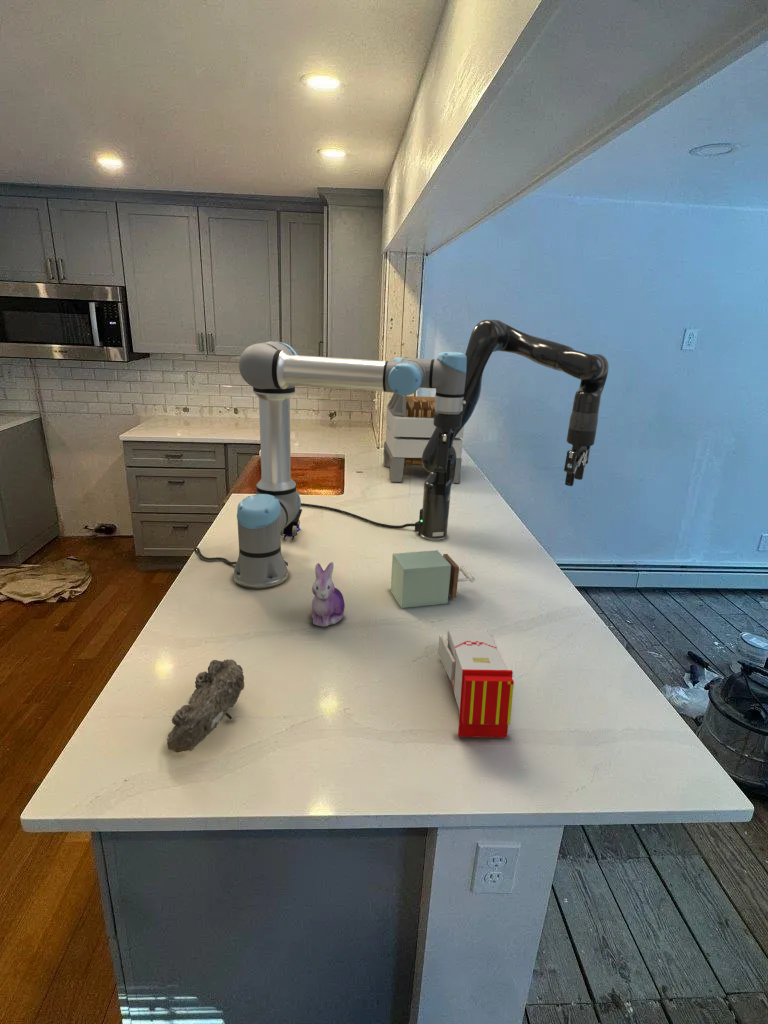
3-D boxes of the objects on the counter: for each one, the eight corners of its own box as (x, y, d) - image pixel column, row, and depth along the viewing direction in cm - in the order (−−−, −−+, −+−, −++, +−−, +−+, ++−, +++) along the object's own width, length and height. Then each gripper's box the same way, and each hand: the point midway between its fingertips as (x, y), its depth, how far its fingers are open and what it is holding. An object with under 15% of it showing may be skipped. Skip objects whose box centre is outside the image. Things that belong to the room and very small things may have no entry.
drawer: (462, 581, 164) (464, 552, 161) (474, 596, 156) (478, 565, 153) (405, 587, 160) (407, 556, 157) (415, 602, 152) (417, 570, 149)
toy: (488, 613, 130) (523, 677, 101) (484, 667, 133) (517, 744, 104) (435, 612, 130) (455, 676, 101) (432, 666, 133) (451, 743, 103)
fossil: (192, 660, 117) (244, 628, 112) (224, 691, 120) (276, 661, 115) (142, 746, 98) (202, 712, 93) (182, 779, 101) (242, 748, 96)
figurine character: (298, 546, 189) (303, 525, 202) (297, 526, 185) (302, 506, 199) (277, 546, 188) (284, 525, 202) (276, 525, 185) (283, 505, 198)
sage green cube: (434, 586, 163) (437, 550, 159) (447, 603, 154) (451, 565, 150) (390, 590, 160) (392, 553, 156) (401, 608, 150) (403, 569, 147)
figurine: (317, 631, 137) (317, 576, 132) (303, 612, 146) (302, 559, 141) (353, 623, 142) (354, 569, 137) (337, 605, 150) (337, 553, 145)
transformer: (382, 463, 289) (386, 382, 275) (445, 464, 293) (451, 384, 279) (390, 482, 257) (394, 392, 243) (460, 483, 261) (468, 394, 247)
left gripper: (459, 421, 140) (452, 502, 147) (464, 405, 163) (458, 476, 170) (429, 419, 141) (423, 499, 148) (438, 404, 164) (433, 474, 171)
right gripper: (577, 422, 167) (568, 474, 173) (561, 428, 156) (552, 484, 162) (603, 425, 163) (593, 479, 169) (588, 433, 152) (578, 490, 158)
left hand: (442, 487), depth 159 cm, fingers open, 13 cm apart
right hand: (573, 482), depth 165 cm, fingers open, 8 cm apart
